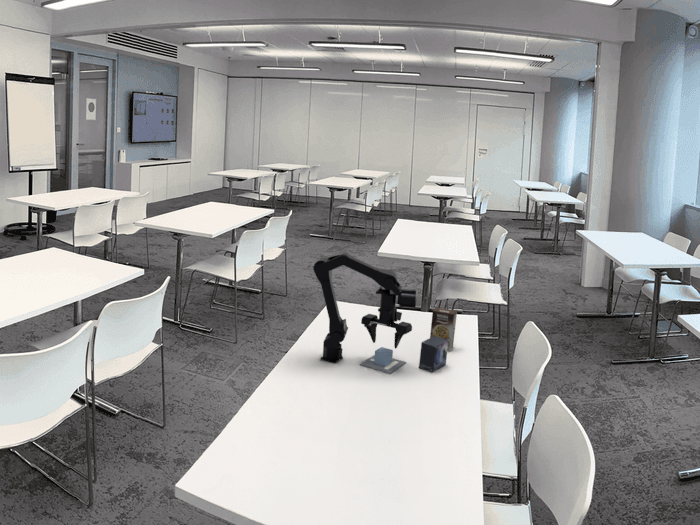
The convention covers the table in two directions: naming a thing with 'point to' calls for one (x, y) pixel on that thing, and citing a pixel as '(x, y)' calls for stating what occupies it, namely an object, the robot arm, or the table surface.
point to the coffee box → (444, 325)
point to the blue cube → (383, 356)
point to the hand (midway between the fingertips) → (384, 345)
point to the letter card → (387, 369)
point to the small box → (433, 353)
